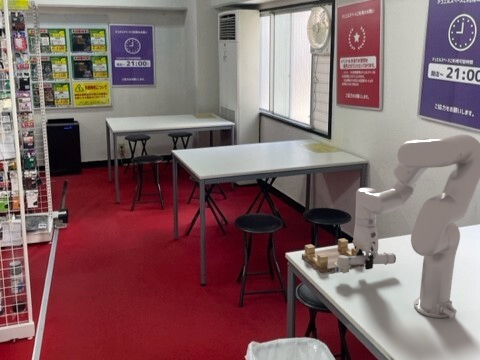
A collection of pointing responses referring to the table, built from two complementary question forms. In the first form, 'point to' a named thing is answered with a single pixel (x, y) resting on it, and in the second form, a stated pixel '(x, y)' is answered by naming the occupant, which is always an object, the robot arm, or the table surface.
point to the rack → (327, 256)
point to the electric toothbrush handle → (362, 261)
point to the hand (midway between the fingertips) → (364, 265)
